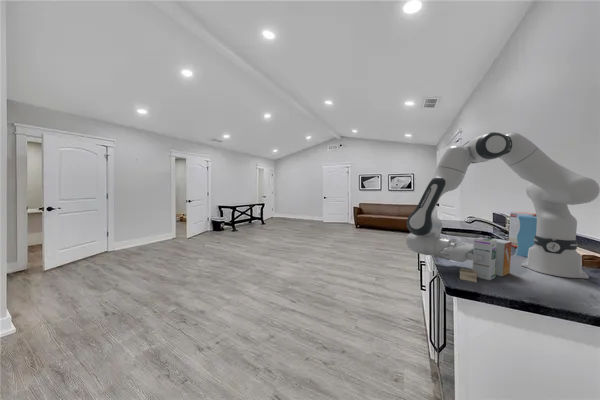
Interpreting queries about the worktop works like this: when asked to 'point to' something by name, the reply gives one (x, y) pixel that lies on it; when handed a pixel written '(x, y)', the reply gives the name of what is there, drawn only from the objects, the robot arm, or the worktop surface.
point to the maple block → (468, 275)
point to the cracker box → (516, 225)
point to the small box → (503, 257)
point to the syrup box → (485, 258)
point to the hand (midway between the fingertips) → (486, 256)
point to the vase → (526, 234)
